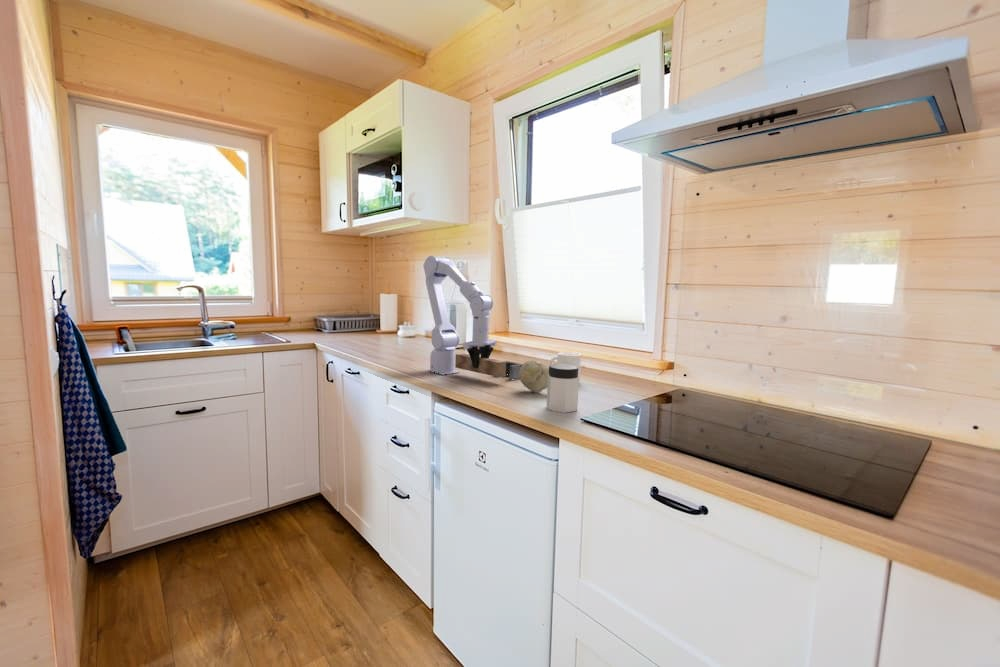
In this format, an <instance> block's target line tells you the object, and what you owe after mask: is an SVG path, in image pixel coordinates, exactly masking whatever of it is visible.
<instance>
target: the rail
mask: <svg viewBox="0 0 1000 667" xmlns="http://www.w3.org/2000/svg"><path fill="white" fill-rule="evenodd" d="M505 361H506V360H505ZM505 361H504V360H499V359H494V358H490V357H489V358H484V357H481V356H479V366H478V368H474V367H473V366H472V361H471V358H470V355H469V353H467V354H466V353H455V369H459V370H460V369H461V370H463V371H464V370H465V371H467V372H474V373H478V374H482V375H487V376H492V377H494V378H495V377H496V378H502V377H506V376H507V375H506V362H505Z"/></svg>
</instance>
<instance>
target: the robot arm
mask: <svg viewBox="0 0 1000 667" xmlns="http://www.w3.org/2000/svg"><path fill="white" fill-rule="evenodd" d="M422 267H423V270H424V275H425V285H426V289H427V290H426V291H427V294H428V299H429V303H430V307H431V313H432V317H433V321H434V324H435V326H434V327H433V328H432V329H431V331H430V333H431V345H432V347H433V349H432V350H431V352H430V355H429V356H430V362H429V363H430V365H429V366H430V367H429V369H428V372H430V371H431V372H430V373H434V372H435V374H438V373H439V374H438V375H443V376H444V375H445V374H447V375H451V374H452V373H453V374H458V372H459V373H460V371H459V370H457V369H456V368H455V363H456V349H457V347H458V346H459V344H460V336H459V333H458V332H457V331H456V327H455V326H454V325H453V324H452V323H451V322H450V318H449V315H448V309H447V307H446V306H447V305H446V301H445V296H444V293H443V292H444V291H443V288H442V282H443V281H444V280H445V279H446V278H447V277H449V278H450V280H452V281H453V282H454V283H455V284H456V285H457V286H458V287H459V292H460V294H461V295H462V296H463V297H464V298H465V299H466V300H467V302H469V307H470V310H471V315H472V339H471V341H467V342H463V343H462V344H463V345H462V348H463V349H466V351H467V352H468V353H467V354H468V355H470V358H471V361H472V366H473V367H474V368H478V366H479V357H484V358H489V359H490V356H491V354H492V352H493V351H494V347H495V346H497V340H495V339H489V334H490V312H491V310H492V309H493V306H494V302H493V299H492V297H491V296H490V295H489V294H484V291H483V290H481V289H480V288H478V286H477V285H476V284H477V283H476V282H475V281H472V280H467V279H466V278H465V277H464V275H463V274H462V273H461V271H460V270H459V269H458V267H457V266H456V264H455V262H454V261H453V260H452V258H450V257H443V256H433V255H429V256H427V257H426V259H425V260H424V262H423V266H422ZM493 346H494V347H493ZM455 369H456V370H455ZM445 376H446V375H445Z"/></svg>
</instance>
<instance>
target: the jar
mask: <svg viewBox="0 0 1000 667" xmlns="http://www.w3.org/2000/svg"><path fill="white" fill-rule="evenodd" d="M579 384H580V381H579V378H578V367H577V366H573V365H567V364H557V363H553V365H550V364H549V374H548V387H547V388H546V389H547V391H546V392H547V395H546V407H547V409H548V410H549V411H550V410H552V411H551V412H555V411H558V412H557V413H561V412H564V413H563V414H566V412H568V413H573V412H572V411H574V412H577V411H578V406H579V405H578V403H579V386H580V385H579Z"/></svg>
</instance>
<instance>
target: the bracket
mask: <svg viewBox="0 0 1000 667" xmlns="http://www.w3.org/2000/svg"><path fill="white" fill-rule="evenodd" d="M505 362H506V376H509V377H508V379H509V380H510V379H515V380H518V379H517V378H519V370H520V368H521V366H522V365H523V364H524V363H521V362H515V361H512V360H511V361H510V360H505ZM507 374H508V375H507Z"/></svg>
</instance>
